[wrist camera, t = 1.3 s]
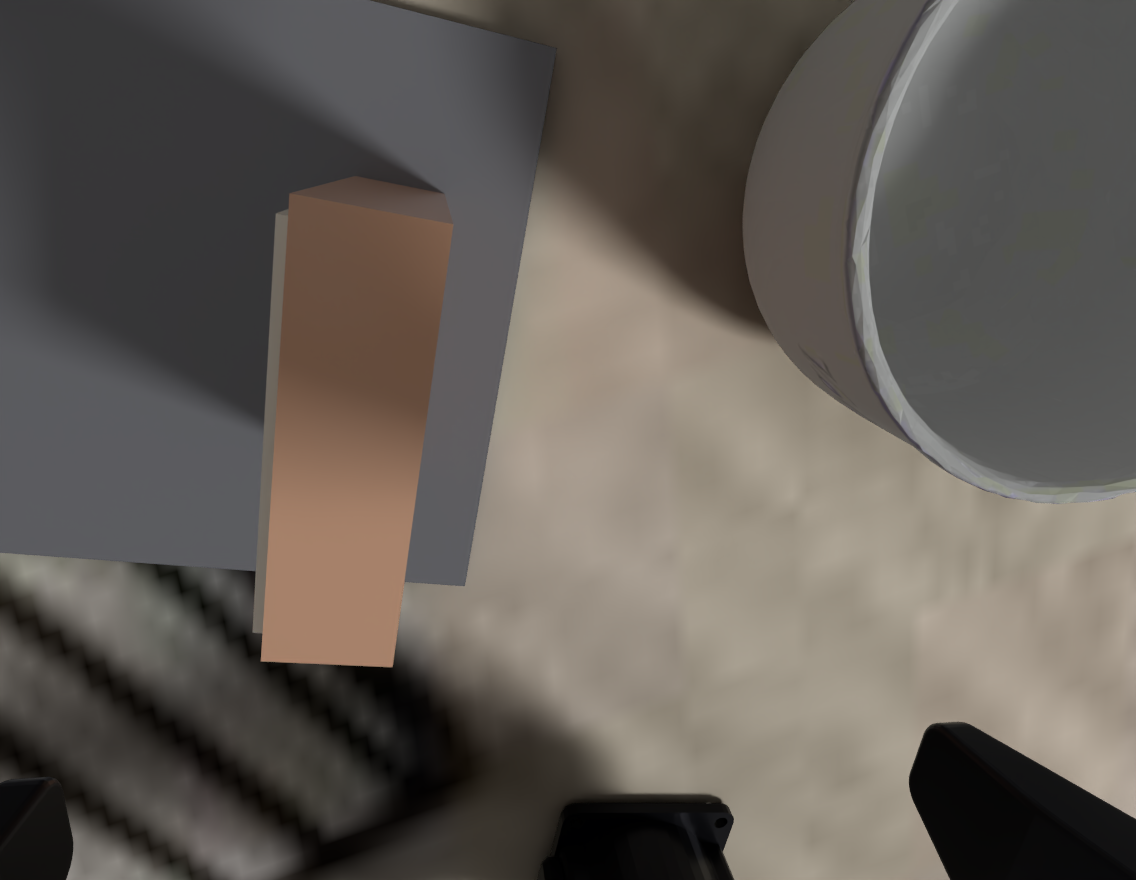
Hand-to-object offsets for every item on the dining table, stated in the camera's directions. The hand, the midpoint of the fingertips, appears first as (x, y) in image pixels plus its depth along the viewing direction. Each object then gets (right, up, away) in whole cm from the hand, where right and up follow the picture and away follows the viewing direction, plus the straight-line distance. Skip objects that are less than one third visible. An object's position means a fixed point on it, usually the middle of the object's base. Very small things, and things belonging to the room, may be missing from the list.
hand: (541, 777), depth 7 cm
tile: (-4, +6, +10) cm, 12 cm away
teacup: (+10, +10, +12) cm, 19 cm away
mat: (-9, +7, +9) cm, 15 cm away
